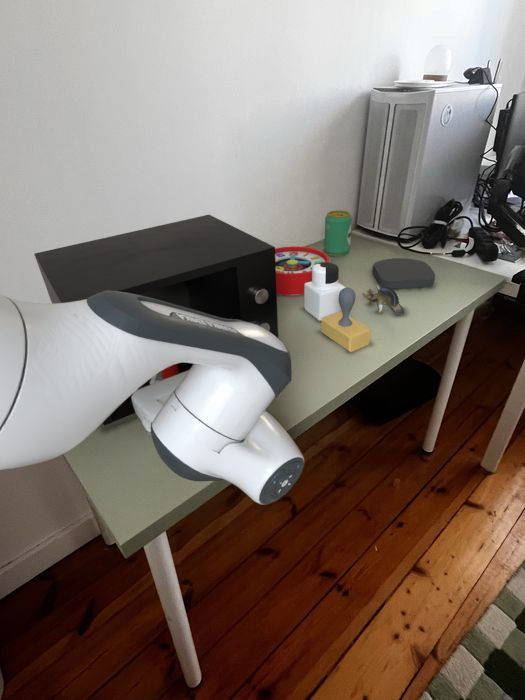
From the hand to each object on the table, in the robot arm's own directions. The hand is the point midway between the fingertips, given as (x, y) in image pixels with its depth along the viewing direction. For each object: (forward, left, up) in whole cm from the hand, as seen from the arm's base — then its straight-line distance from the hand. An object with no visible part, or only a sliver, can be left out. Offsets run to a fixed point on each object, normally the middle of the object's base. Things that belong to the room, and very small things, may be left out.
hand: (181, 362), depth 71 cm
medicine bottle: (+42, +14, -11) cm, 46 cm away
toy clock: (+47, +34, -11) cm, 59 cm away
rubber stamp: (+38, +2, -11) cm, 40 cm away
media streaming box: (+71, +16, -11) cm, 74 cm away
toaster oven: (+4, +17, -11) cm, 21 cm away
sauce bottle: (0, +12, -10) cm, 16 cm away
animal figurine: (+54, +6, -11) cm, 55 cm away
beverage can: (+70, +42, -11) cm, 83 cm away
